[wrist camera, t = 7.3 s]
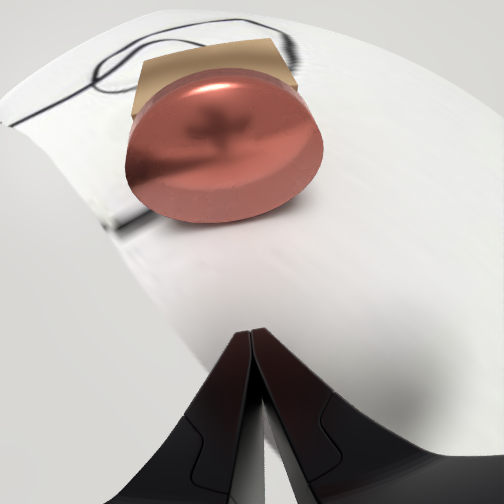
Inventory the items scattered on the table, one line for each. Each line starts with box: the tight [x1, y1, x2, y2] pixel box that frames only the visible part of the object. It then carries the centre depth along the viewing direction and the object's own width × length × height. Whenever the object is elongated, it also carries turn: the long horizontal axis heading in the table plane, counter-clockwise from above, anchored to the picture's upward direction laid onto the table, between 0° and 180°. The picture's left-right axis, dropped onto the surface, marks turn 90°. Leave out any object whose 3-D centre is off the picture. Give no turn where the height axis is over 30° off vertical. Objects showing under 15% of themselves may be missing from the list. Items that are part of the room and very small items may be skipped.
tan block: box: [131, 38, 298, 121], centre depth 16 cm, size 6×8×7 cm
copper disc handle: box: [125, 68, 324, 223], centre depth 14 cm, size 11×9×9 cm
